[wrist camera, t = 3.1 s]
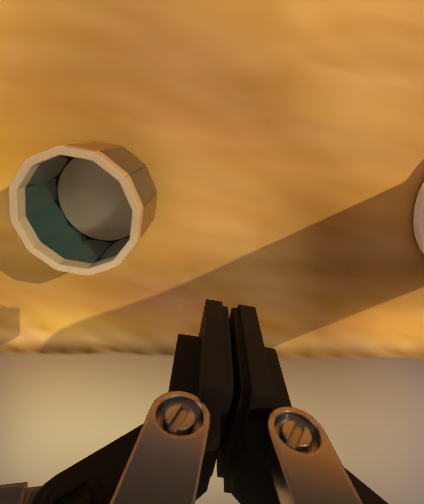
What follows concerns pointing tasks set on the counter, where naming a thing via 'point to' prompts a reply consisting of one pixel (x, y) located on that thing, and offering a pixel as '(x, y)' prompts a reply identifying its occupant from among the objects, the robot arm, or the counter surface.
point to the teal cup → (82, 205)
